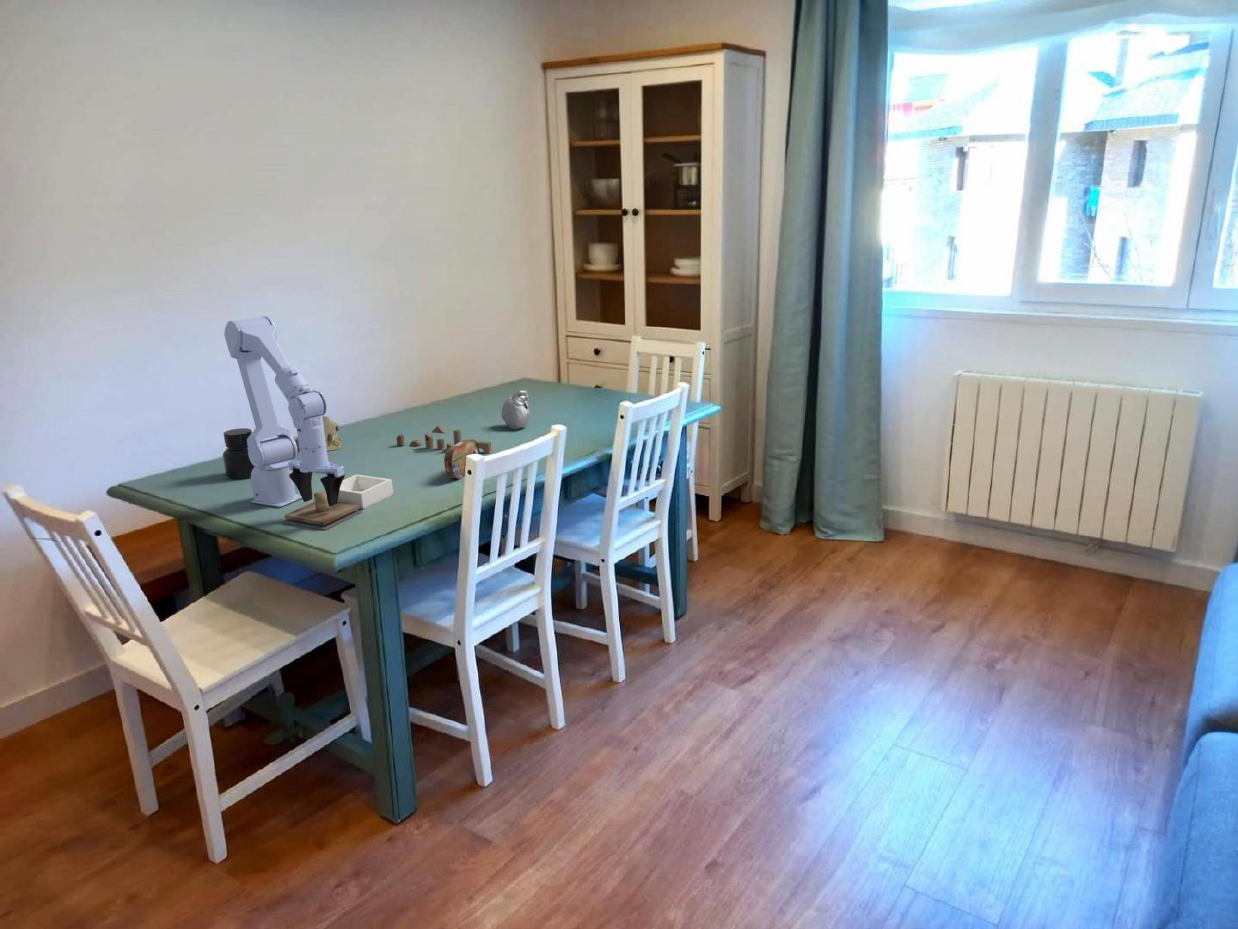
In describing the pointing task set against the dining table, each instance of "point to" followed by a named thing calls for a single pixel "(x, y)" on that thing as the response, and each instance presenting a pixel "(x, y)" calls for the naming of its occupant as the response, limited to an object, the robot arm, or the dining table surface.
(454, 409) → the dining table surface
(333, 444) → the ceramic model
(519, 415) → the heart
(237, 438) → the ink bottle
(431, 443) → the wooden blocks
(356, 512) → the mat
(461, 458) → the tin
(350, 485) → the box
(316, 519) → the lid
